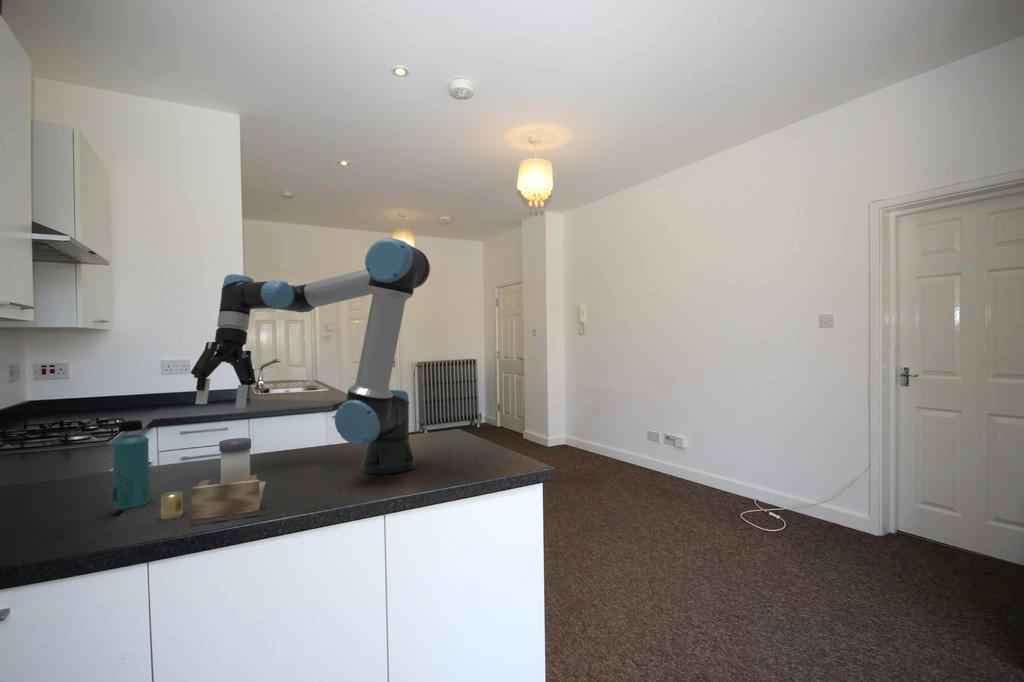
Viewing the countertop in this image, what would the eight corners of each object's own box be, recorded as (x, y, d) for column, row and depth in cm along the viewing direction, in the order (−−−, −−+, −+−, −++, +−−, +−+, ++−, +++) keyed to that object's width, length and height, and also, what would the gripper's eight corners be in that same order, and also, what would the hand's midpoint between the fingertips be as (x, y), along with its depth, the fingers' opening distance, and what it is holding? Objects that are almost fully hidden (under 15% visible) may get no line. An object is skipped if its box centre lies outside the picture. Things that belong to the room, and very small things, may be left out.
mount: (265, 487, 121) (265, 457, 121) (258, 517, 100) (258, 481, 100) (210, 493, 116) (210, 463, 116) (191, 527, 95) (191, 489, 95)
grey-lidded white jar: (252, 485, 117) (252, 437, 117) (250, 493, 111) (249, 441, 111) (221, 489, 114) (221, 439, 114) (217, 497, 108) (217, 444, 108)
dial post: (184, 519, 99) (184, 490, 99) (180, 525, 96) (180, 495, 96) (163, 522, 97) (163, 493, 97) (158, 528, 94) (158, 498, 94)
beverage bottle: (157, 507, 106) (157, 418, 107) (126, 517, 100) (126, 423, 100) (135, 505, 108) (135, 417, 108) (103, 515, 102) (103, 422, 102)
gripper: (252, 339, 145) (243, 409, 140) (182, 318, 121) (169, 402, 116) (274, 338, 143) (265, 409, 139) (208, 317, 119) (195, 402, 115)
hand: (221, 406), depth 127 cm, fingers open, 13 cm apart
